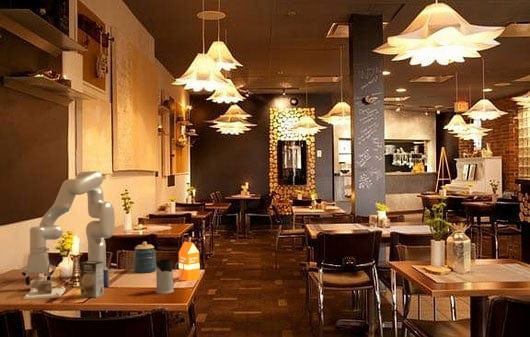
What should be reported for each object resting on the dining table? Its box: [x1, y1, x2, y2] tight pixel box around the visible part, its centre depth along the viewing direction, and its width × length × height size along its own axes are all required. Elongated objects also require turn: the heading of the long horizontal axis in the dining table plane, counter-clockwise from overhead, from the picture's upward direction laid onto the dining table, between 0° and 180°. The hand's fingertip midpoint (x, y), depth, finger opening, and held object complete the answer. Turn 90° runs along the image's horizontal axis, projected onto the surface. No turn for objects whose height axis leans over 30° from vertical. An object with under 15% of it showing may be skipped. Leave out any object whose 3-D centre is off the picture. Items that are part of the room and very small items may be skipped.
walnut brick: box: [37, 279, 53, 295], centre depth 258 cm, size 6×8×5 cm
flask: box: [103, 268, 111, 288], centre depth 274 cm, size 9×3×11 cm, turn 68°
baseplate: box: [22, 286, 66, 300], centre depth 258 cm, size 16×16×2 cm
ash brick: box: [29, 277, 47, 292], centre depth 271 cm, size 6×8×5 cm
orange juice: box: [178, 241, 201, 282], centre depth 288 cm, size 8×9×20 cm
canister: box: [133, 241, 157, 274], centre depth 314 cm, size 13×13×18 cm
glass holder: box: [155, 258, 184, 295], centre depth 260 cm, size 9×14×15 cm, turn 113°
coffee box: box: [79, 260, 105, 298], centre depth 253 cm, size 9×6×16 cm
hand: (38, 284), depth 271 cm, fingers open, 9 cm apart
